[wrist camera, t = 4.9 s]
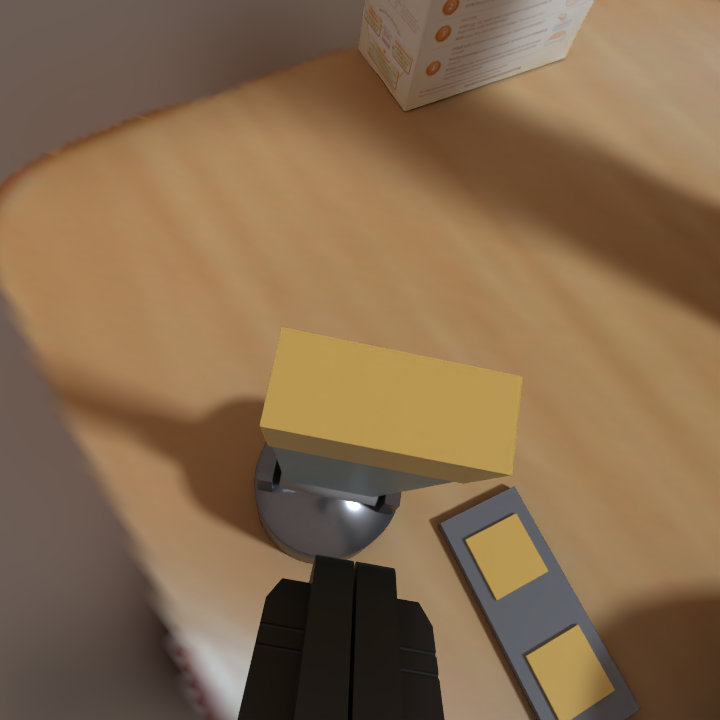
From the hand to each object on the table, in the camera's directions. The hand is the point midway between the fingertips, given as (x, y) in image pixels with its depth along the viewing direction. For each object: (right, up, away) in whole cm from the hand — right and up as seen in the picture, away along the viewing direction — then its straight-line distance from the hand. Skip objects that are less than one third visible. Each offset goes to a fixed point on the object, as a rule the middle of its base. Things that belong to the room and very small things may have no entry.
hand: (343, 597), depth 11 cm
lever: (-1, 0, +14) cm, 14 cm away
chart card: (+9, -8, +17) cm, 20 cm away
